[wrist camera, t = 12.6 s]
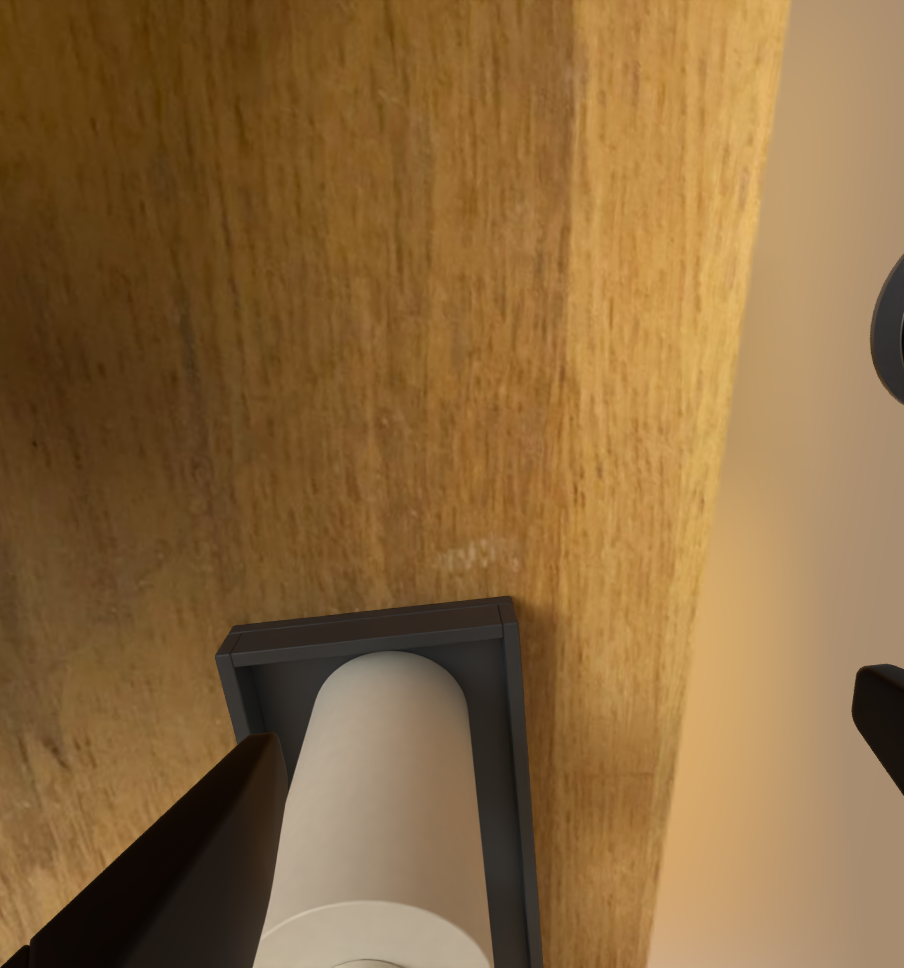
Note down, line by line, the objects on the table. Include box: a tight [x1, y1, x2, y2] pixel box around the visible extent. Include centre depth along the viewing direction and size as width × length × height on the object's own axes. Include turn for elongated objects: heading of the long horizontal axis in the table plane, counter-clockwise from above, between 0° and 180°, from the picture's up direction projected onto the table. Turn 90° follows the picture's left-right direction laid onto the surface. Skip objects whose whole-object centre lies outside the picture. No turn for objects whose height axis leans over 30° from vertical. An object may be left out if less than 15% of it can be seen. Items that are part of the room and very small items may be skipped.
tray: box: [215, 596, 543, 968], centre depth 26 cm, size 11×31×2 cm, turn 6°
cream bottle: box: [253, 651, 494, 968], centre depth 17 cm, size 6×6×13 cm
